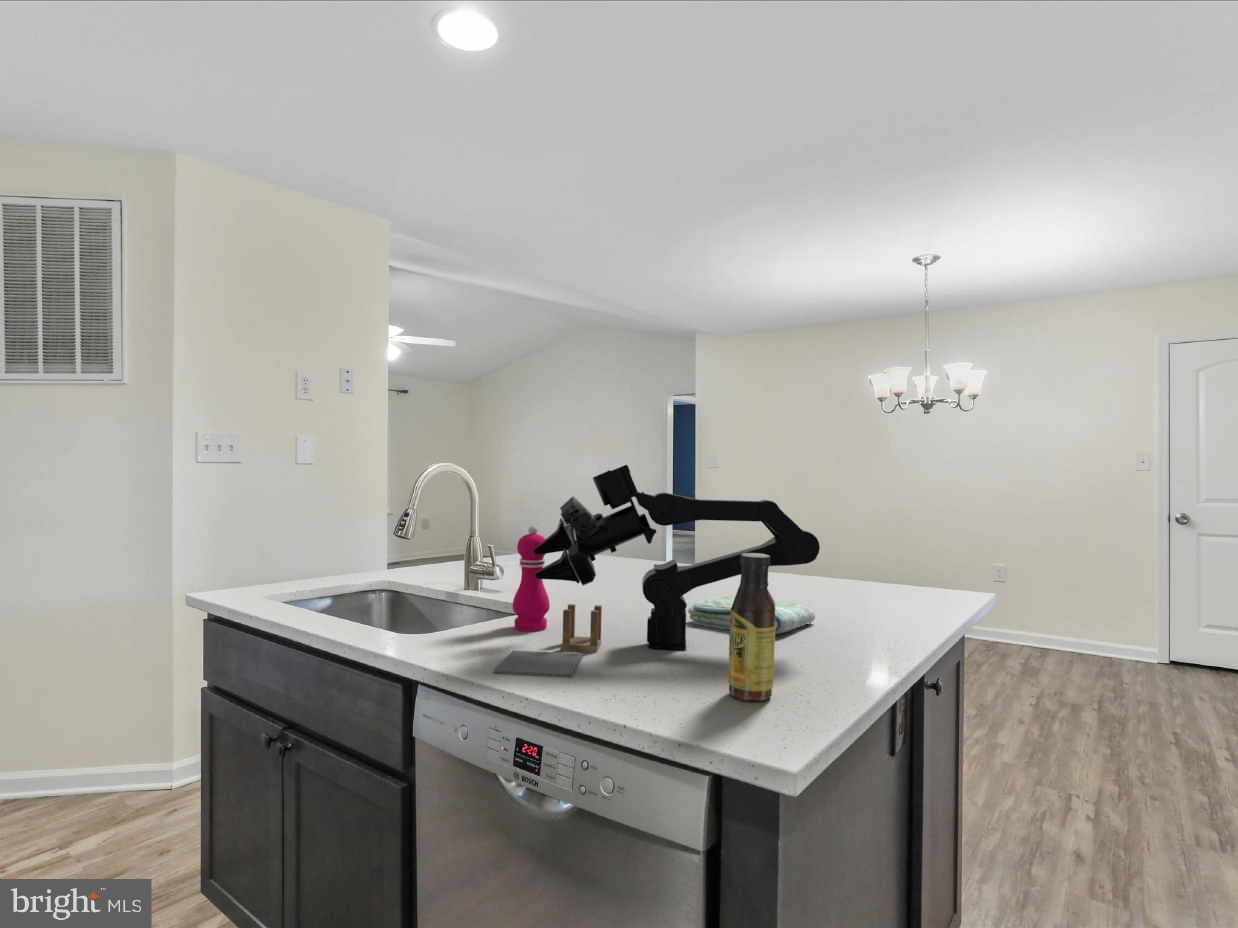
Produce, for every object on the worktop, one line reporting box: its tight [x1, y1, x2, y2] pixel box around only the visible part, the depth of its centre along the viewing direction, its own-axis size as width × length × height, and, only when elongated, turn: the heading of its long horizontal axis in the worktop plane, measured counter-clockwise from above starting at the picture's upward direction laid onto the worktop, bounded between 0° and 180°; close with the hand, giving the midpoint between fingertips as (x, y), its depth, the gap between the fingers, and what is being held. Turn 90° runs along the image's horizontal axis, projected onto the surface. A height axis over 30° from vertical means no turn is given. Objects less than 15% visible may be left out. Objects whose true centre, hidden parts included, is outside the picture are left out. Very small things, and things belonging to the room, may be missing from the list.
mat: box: [493, 650, 584, 678], centre depth 111 cm, size 12×12×1 cm
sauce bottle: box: [727, 553, 776, 702], centre depth 97 cm, size 6×6×20 cm
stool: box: [561, 603, 603, 653], centre depth 122 cm, size 6×6×7 cm
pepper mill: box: [512, 525, 550, 632], centre depth 137 cm, size 7×7×20 cm
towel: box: [687, 594, 816, 635], centre depth 146 cm, size 18×21×5 cm
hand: (534, 563), depth 126 cm, fingers open, 9 cm apart
